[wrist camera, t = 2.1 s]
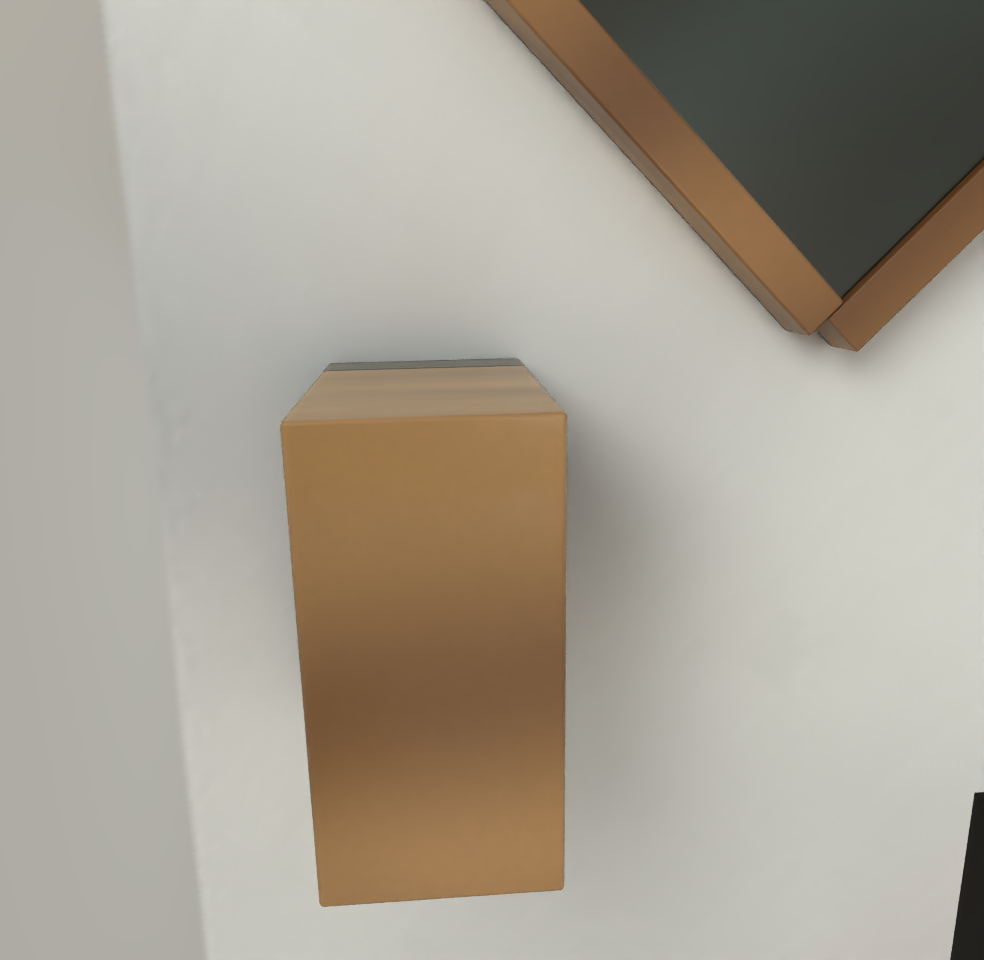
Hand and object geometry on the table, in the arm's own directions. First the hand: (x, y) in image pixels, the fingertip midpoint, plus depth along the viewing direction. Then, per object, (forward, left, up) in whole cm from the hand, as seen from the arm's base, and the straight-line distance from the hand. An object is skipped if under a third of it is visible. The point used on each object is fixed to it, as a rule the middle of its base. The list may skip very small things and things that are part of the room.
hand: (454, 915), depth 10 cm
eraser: (0, 0, -14) cm, 14 cm away
